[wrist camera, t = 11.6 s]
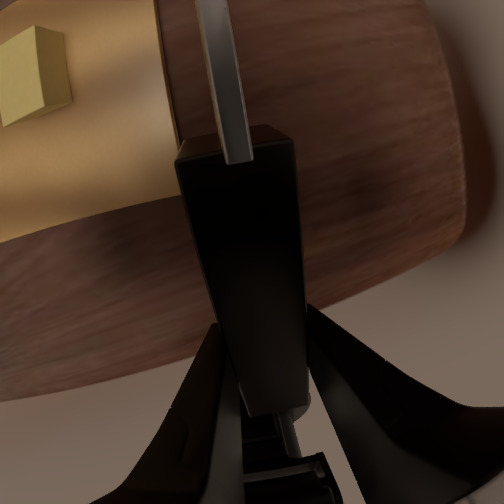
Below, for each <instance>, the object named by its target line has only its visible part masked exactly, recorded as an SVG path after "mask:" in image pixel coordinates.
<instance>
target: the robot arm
mask: <svg viewBox="0 0 504 504" xmlns="http://www.w3.org/2000/svg"><path fill="white" fill-rule="evenodd" d="M307 327H308V329H307V333H308V367H309V370H310V373H311V375H312V378H313V380H314V382H315V385H316V387H317V390H318V392H319V394H320V397H321V399H322V401H323V404H324V406H325V408H326V411H327V413H328V415H329V418H330V420H331V422H332V425H333V427H334V429H335V431H336V434H337V436H338V439H339V441H340V443H341V446H342V448H343V450H344V453H345V455H346V457H347V460H348V462H349V465H350V467H351V469H352V471H353V474H354V476H355V479H356V480H357V484H358V486H359V488H360V491H361V493H362V495H363V497H364V500H365V502H366V504H504V407H470V406H465V405H462V404H459V403H457V402H455V401H453V400H451V399H449V398H447V397H445V396H444V395H442V394H440V393H438V392H436V391H434V390H433V389H431V388H429V387H427V386H425V385H423V384H422V383H420V382H418V381H417V380H415V379H413V378H412V377H410V376H408V375H406V374H405V373H404V372H402V371H401V370H399V369H398V368H397V367H395V366H394V365H392V364H391V363H390V362H388V361H385V359H384V358H383V357H381V356H380V355H378V354H377V353H376V352H374V351H373V350H372V349H370V348H369V347H367V346H366V345H365V344H364V343H362V342H361V341H359V340H358V339H357V338H355V337H354V336H353V335H351V334H350V333H348V332H347V331H346V330H344V329H343V328H342V327H340V326H339V325H338V324H336V323H335V322H334V321H332V320H331V319H329V318H328V317H327V316H326V315H324V314H323V313H321V312H320V311H319V310H317V309H316V308H315V307H313V306H312V305H311V304H307ZM293 423H294V409H290V410H285V411H281V412H276V413H271V414H266V415H261V416H256V417H250V416H249V414H248V411H247V408H246V406H245V403H244V400H243V397H242V396H240V394H239V383H238V380H237V377H236V374H235V371H234V368H233V365H232V362H231V359H230V356H229V353H228V350H227V347H226V346H225V344H224V341H223V338H222V335H221V332H220V329H219V326H218V323H213V324H212V325H211V327H210V329H209V331H208V333H207V335H206V337H205V339H204V341H203V343H202V345H201V347H200V349H199V351H198V353H197V355H196V357H195V359H194V361H193V363H192V365H191V367H190V369H189V371H188V373H187V375H186V377H185V379H184V381H183V383H182V385H181V387H180V389H179V391H178V393H177V395H176V397H175V399H174V401H173V403H172V405H171V408H170V409H169V411H168V413H167V415H166V417H165V419H164V421H163V423H162V424H161V426H160V429H159V430H158V432H157V433H156V435H155V437H154V438H153V440H152V441H151V443H150V444H149V446H148V447H147V449H146V450H145V452H144V454H143V455H142V457H141V458H140V459H139V461H138V462H137V464H136V465H135V467H134V468H133V470H132V471H131V473H130V474H129V476H128V477H127V478H126V479H125V481H124V482H123V483H122V484H121V485H120V486H119V487H118V488H117V489H115V490H114V491H112V492H110V493H108V494H107V495H105V496H103V497H101V498H99V499H97V500H95V501H93V502H91V503H89V504H343V499H342V496H341V493H340V490H339V487H338V485H337V483H336V480H335V478H334V476H333V474H332V471H331V469H330V467H329V465H328V462H327V460H326V458H325V455H324V453H323V452H319V453H316V454H315V455H311V456H306V457H302V455H301V451H300V447H299V444H298V440H297V436H296V433H295V429H294V425H293Z"/></svg>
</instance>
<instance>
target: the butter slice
mask: <svg viewBox="0 0 504 504" xmlns="http://www.w3.org/2000/svg"><path fill="white" fill-rule="evenodd" d="M70 103H72V96H71V90H70V85H69V78H68V72H67V65H66V57H65V49H64V40H63V33H60V32H57V31H54V30H50V29H47V28H44V27H40V26H37V25H33V26H31V27H30V28H28V29H26V30H24V31H23V32H21V33H19V34H18V35H16V36H14V37H13V38H11V39H10V40H8V41H6V42H5V43H3V44H2V45H0V113H1V118H2V123H3V127H7V126H11V125H14V124H18V123H21V122H25V121H29V120H33V119H36V118H38V117H40V116H42V115H44V114H47V113H49V112H51V111H53V110H56V109H58V108H60V107H63V106H65V105H68V104H70Z"/></svg>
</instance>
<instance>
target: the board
mask: <svg viewBox="0 0 504 504" xmlns="http://www.w3.org/2000/svg"><path fill="white" fill-rule="evenodd" d="M33 25H37V26H40V27H44V28H47V29H50V30H54V31H57V32H60V33H63V40H64V49H65V57H66V65H67V72H68V78H69V85H70V90H71V96H72V103H70V104H68V105H65V106H63V107H60V108H58V109H56V110H53V111H51V112H49V113H47V114H44V115H42V116H40V117H38V118H36V119H33V120H29V121H25V122H21V123H18V124H14V125H11V126H7V127H3V123H2V118H1V113H0V243H2V242H5V241H8V240H11V239H14V238H17V237H20V236H23V235H27V234H30V233H33V232H36V231H39V230H43V229H46V228H49V227H53V226H56V225H60V224H63V223H67V222H70V221H74V220H78V219H81V218H85V217H89V216H92V215H96V214H100V213H104V212H108V211H112V210H116V209H120V208H124V207H128V206H132V205H137V204H141V203H145V202H150V201H154V200H159V199H163V198H168V197H172V196H177V195H181V192H180V189H179V185H178V180H177V176H176V172H175V168H174V160H175V158H176V156H177V153H178V151H179V149H180V142H179V137H178V132H177V127H176V122H175V116H174V111H173V105H172V100H171V94H170V88H169V82H168V76H167V70H166V64H165V58H164V51H163V45H162V38H161V31H160V24H159V17H158V9H157V1H156V0H17V1H16V2H14V3H12V4H11V5H9V6H8V7H6V8H5V9H3V10H2V11H0V45H2V44H3V43H5V42H6V41H8V40H10V39H11V38H13V37H14V36H16V35H18V34H19V33H21V32H23V31H24V30H26V29H28V28H30V27H31V26H33Z"/></svg>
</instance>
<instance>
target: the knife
mask: <svg viewBox="0 0 504 504" xmlns="http://www.w3.org/2000/svg"><path fill="white" fill-rule="evenodd" d="M194 1H195V7H196V13H197V19H198V25H199V30H200V36H201V42H202V48H203V53H204V59H205V64H206V70H207V76H208V81H209V87H210V92H211V98H212V103H213V109H214V114H215V120H216V125H217V130H218V132H217V133H212V134H207V135H202V136H198V137H193V138H189V139H185V140H184V141H183V143H182V145H181V147H180V149H179V151H178V153H177V156H176V158H175V160H174V168H175V172H176V176H177V180H178V185H179V189H180V192H181V196H182V200H183V204H184V208H185V212H186V216H187V219H188V223H189V227H190V231H191V234H192V238H193V242H194V245H195V249H196V252H197V256H198V259H199V263H200V266H201V270H202V273H203V277H204V280H205V283H206V287H207V290H208V294H209V297H210V300H211V303H212V307H213V310H214V313H215V316H216V320H217V323H218V326H219V329H220V332H221V335H222V338H223V341H224V344H225V346H226V347H227V350H228V353H229V356H230V359H231V362H232V365H233V368H234V371H235V374H236V377H237V380H238V383H239V389H240V392H241V394H242V397H243V400H244V403H245V406H246V408H247V411H248V414H249V416H250V417H256V416H261V415H266V414H271V413H276V412H281V411H285V410H290V409H294V408H298V407H302V406H306V405H308V404H309V367H308V333H307V329H308V327H307V303H306V283H305V266H304V250H303V236H302V223H301V211H300V200H299V189H298V178H297V168H296V159H295V150H294V142H293V140H292V139H291V138H290V137H288V136H286V135H285V134H283V133H282V132H280V131H278V130H277V129H275V128H273V127H272V126H270V125H267V124H264V125H257V126H251V127H249V123H248V117H247V111H246V104H245V98H244V92H243V86H242V80H241V74H240V68H239V62H238V56H237V50H236V44H235V39H234V33H233V27H232V21H231V16H230V10H229V5H228V0H194Z"/></svg>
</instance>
